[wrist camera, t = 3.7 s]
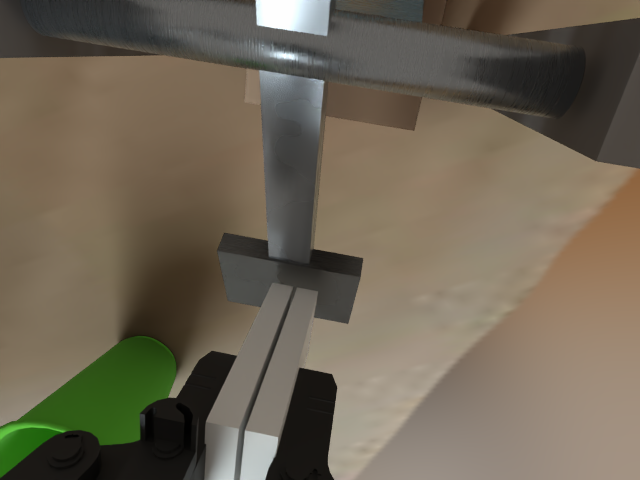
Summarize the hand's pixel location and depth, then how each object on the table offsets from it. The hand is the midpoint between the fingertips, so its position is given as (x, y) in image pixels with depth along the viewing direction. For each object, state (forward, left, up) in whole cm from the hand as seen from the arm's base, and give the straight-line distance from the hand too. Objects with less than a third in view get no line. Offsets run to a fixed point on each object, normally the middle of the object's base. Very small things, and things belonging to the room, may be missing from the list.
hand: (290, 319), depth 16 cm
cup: (-12, -16, -14) cm, 24 cm away
